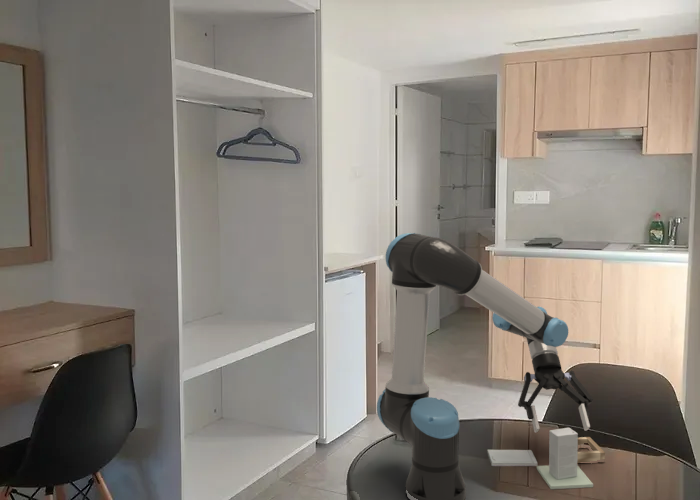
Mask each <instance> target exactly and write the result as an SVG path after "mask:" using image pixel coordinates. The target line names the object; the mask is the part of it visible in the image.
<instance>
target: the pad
mask: <svg viewBox="0 0 700 500" xmlns="http://www.w3.org/2000/svg"><path fill="white" fill-rule="evenodd" d="M536 470H537V472H538V473H539V475H540V476H541V478H542V479H543V480H544V482H545V483H546V484H547V486H548V487H549V489H550V490H563V489H564V490H565V489H580V488H581V489H583V488H585V489H586V488H594V483H593V482H592V481H591V480H590V479H589V477H588V476H587V475H586V473H585V472H584V471H583V470H582V469H581V468H580V466H579V464H577V476H576V477H570V478H564V479H559V480H557V479H556V478H555V477H554V476H552V475H551V474H550V473H549V464H548V465H537V466H536Z"/></svg>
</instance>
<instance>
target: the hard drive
mask: <svg viewBox="0 0 700 500" xmlns="http://www.w3.org/2000/svg"><path fill="white" fill-rule="evenodd" d="M486 452H487V456H488V460H489V463H490V465H491V466H492V467H537V466H539V465H538V461H537V459H536V457H535V455H534V453H533V451H532V450H531V449H487V450H486Z"/></svg>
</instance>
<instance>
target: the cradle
mask: <svg viewBox="0 0 700 500" xmlns="http://www.w3.org/2000/svg"><path fill="white" fill-rule="evenodd" d="M584 443H588V444H589V446H590V447H591V449H592V450H593V451H589V450H585V451H583V450H582V451H578V455H577V463H580V462H590V461H597V460H601V459H606V452H605V451H604V450H603V449H602V447H600V446H599V445H598V444H597V442H595V441H594V439H592V438H591V436H584V437H583V436H581V437H579V436H578V445H580V444H584Z"/></svg>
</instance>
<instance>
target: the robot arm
mask: <svg viewBox="0 0 700 500" xmlns="http://www.w3.org/2000/svg"><path fill="white" fill-rule="evenodd" d="M385 264H386V266H387V268H388V270H389V271H390V272H391V274H392V275H391V286H393V288H394V289H395V290H396V303H395V317H394V319H395V320H394V321H395V322H394V334H393V335H394V336H393V352H392V367H391V368H392V370H391V379H390V380H388V381H387V382H386V384H385V389H384V390H383V391H382V393H381V394H380V395H379V397H378V399H377V402H376V413H377V416H378V419H379V421H380V422H381V424H383V426H384V427H385V428H387V430H388V431H390V432H391V433H393V434H395V435H396V436H398V437H400V438H401V439H403V441H405V442H407V443H408V444H409V445H411V466H410V469H409V472H408V476H407V478H406V482H405V487H406V490H407V491H408V493H409V494H410V495H411V496H413V497H414V498H416V499H418V500H465V499H466V497H467V494H466V493H467V488H466V483H465V480H464V478H463V474H462V471H461V469H460V463H459V462H460V459H459V457H460V453H459V452H460V451H459V450H460V447H459V445H460V439H459V438H460V418H459V413H458V412H459V411H458V410H457V408H456V406H454V405H453V404H452V403H451V402H449V401H448V400H445V399H442V398H440V399H439V398H437V397H431V396H430V386H429V385H428V384H427V383H426V381H425V373H426V372H425V371H426V369H425V368H426V355H427V353H426V352H427V341H428V340H427V339H428V326H429V325H428V323H429V312H430V311H429V309H430V295H431V292H433V290H435V289H436V288H437V286H438V287H441V288H444V289H446V290H449V291H451V292H453V293H454V294H456V295H458V296H464V295H465V296H467V297H468V298H470V299H472V300H473V301H475V302H476V303H478V304H479V305H481V306H482V307H484V308H485V309H487V310H488V311H490V312H492V319H491V320H492V323H493V325H494V326H495V327H496V328H497V329H500V330H502V331H505V332H508V333H511V334H515V335H517V336H519V337H523V338H526V341H527V342H526V343H527V346H528V350H529V355H530V359H531V365H532V367H533V372H534V373H530V372H529V371H526V373H525V375H524V377H523V380H524V381H523V382H524V383H523V386H522V389H521V393H520V397H519V398H518V399H519V400H518V403H517V406H518V407H519V408H521V407H522V408H524V410H525V412H526V416H527V419H528V420H531V423H532V427H533V428H532V429H533V432H534V433H538V431H539V430H540V425H539V419H538V415H537V410H536V406H535V405H532V404H533V403H534V401H535V400H536V398H537V396H538V395H539V393H540V392H541V390H542V389H545V390H547V391H548V390H559V391H561V392H564V393H565V394H566V395H567V396H568V397H569V398H571V399H572V400H573V401H574V402H576V403H577V404H578V405H579V406H578V412H579V415H580V419H581V424H582V427H583V430H584V431H588V430H589V429H590V428H591V424H590V421H589V417H590V415H591V413H590V409H589V405H591V404H592V403H593V401H594V398H593V397H592V395H591V394H590V393H589V392H588V391H587V389H586V388H585V386H584V385H583V384H582V383H581V381H579V379H578V378H577V376H576V374H575V371H573V370H570V371H569V372H563V370H562V365H561V361H560V356H559V355H558V354H559V352H558V349H557V348H558V347H561V346H562V345H564V344H565V343H566V341H567V338H568V336H569V327H568V324H567V322H565V321H564V320H562V319H559V318H558V317H554V316H551V315H549V313H548V312H547V310H546V309H545V308H544V307H543V306H540V305H539V306H536V305H535V304H532V302H530V301H529V300H528V299H525V298H524V297H523V296H521V295H520V294H518V293H517V292H515V291H514V290H513V289H511V288H509V287H508V286H507V285H505V284H504V283H502V282H501V281H499V280H498V279H496V278H495V277H493V275H491V274H489V273H488V272H487V271H485V270H483V267H482V264H481V263H480V262H479V261H478V260H476V259H475V258H473V257H472V256H471V255H469V254H468V253H466V252H465V251H464V250H462V249H461V248H459V247H458V246H456V245H455V244H453V243H452V242H450V241H448V240H446V239H444V238H441V237H435V236H431V235H425V234H421V233H416V232H414V233H413V232H412V233H411V232H410V233H402V234H399V235H397V236H396V237H395V238H394V239H393V240H391V242H390V243H389V245H388V246H387V247H386V251H385ZM565 379H566V380H567V381H568V382H569V383H570V385H569V383H568V382H567V381H566V380H565ZM533 380H535V382H537V383H538V385H537V386H536V387H535V390H534V391H533V392H532V394H531V395H530V397H529V399H528V400H526V398H527V395H528V391H529V388H530V385H531V383H532V382H533ZM572 387H573V388H572ZM429 396H430V397H429Z"/></svg>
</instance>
